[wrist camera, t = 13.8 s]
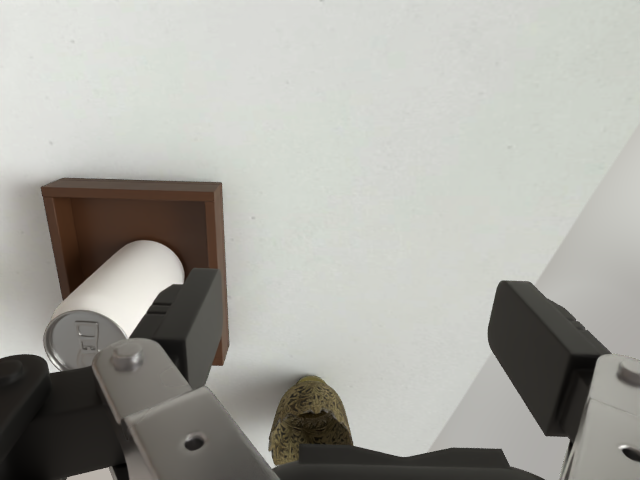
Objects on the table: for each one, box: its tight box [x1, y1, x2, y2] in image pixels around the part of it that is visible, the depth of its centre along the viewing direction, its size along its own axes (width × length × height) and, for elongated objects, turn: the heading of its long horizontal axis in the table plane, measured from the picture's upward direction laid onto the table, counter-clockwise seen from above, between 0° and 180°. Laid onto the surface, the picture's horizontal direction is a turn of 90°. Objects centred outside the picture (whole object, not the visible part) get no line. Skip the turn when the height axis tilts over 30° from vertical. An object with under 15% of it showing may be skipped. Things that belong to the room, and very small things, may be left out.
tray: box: [41, 178, 229, 366], centre depth 39 cm, size 17×14×3 cm
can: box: [43, 240, 185, 371], centre depth 34 cm, size 6×6×12 cm
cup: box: [269, 376, 353, 466], centre depth 42 cm, size 8×7×8 cm
